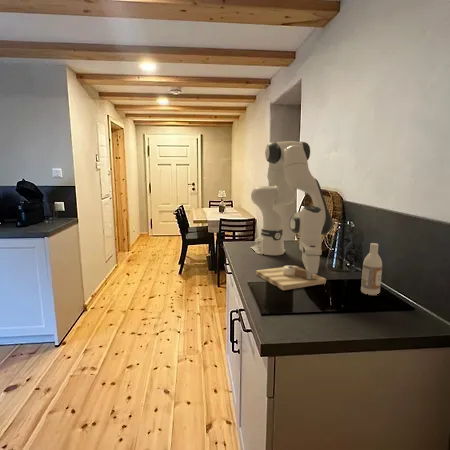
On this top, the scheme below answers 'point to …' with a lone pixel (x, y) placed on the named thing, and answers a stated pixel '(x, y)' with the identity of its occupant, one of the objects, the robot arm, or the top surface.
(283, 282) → the wooden cutting board
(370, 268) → the bath foam
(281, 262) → the top surface
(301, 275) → the brown and cream block
